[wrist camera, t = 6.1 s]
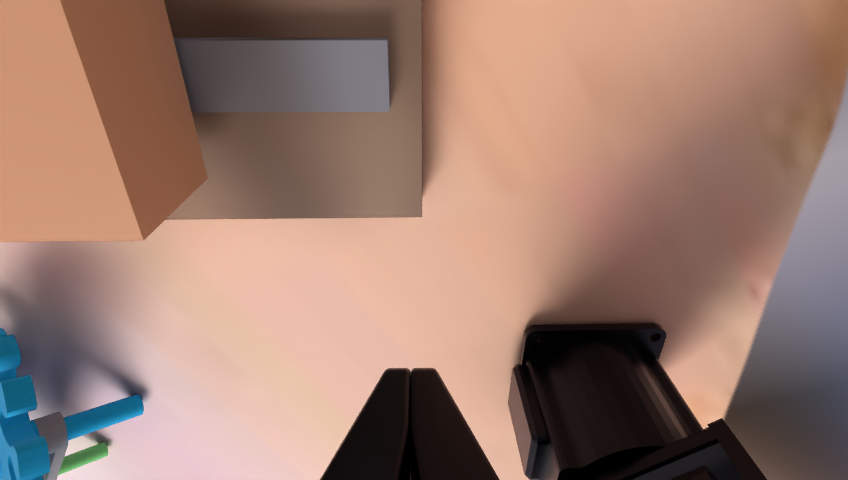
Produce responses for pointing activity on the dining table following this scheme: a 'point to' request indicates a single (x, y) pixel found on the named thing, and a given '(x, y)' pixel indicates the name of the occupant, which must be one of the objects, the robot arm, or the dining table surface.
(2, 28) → the sliding jaw
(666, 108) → the dining table surface
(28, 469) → the gear
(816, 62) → the dining table surface
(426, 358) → the dining table surface
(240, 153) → the base
